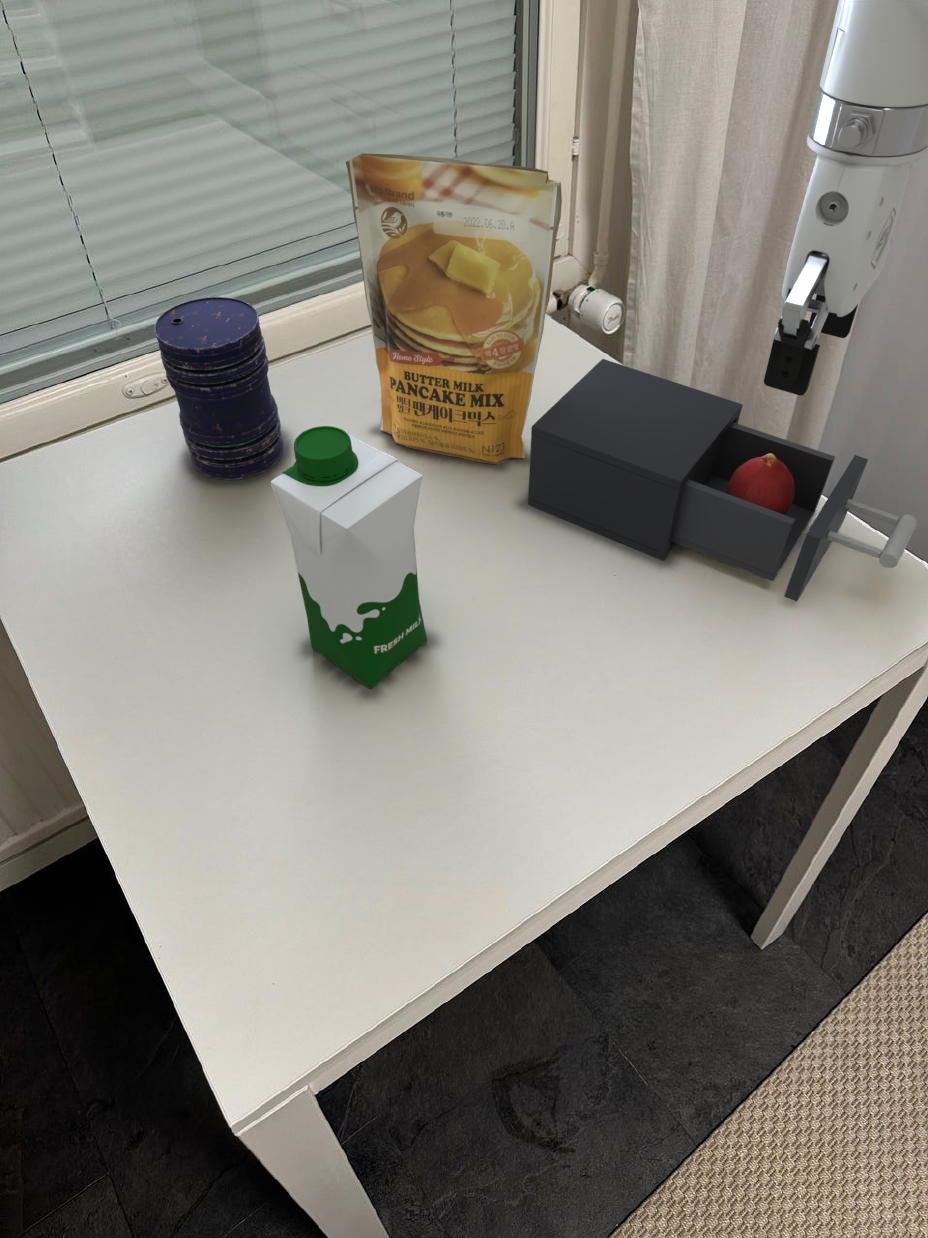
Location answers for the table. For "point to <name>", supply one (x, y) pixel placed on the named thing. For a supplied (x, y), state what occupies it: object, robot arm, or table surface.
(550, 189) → the pancake mix bag
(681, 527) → the drawer
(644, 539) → the cabinet
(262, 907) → the table surface
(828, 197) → the robot arm
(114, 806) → the table surface
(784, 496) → the onion
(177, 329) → the navy blue cylinder
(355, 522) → the milk carton
